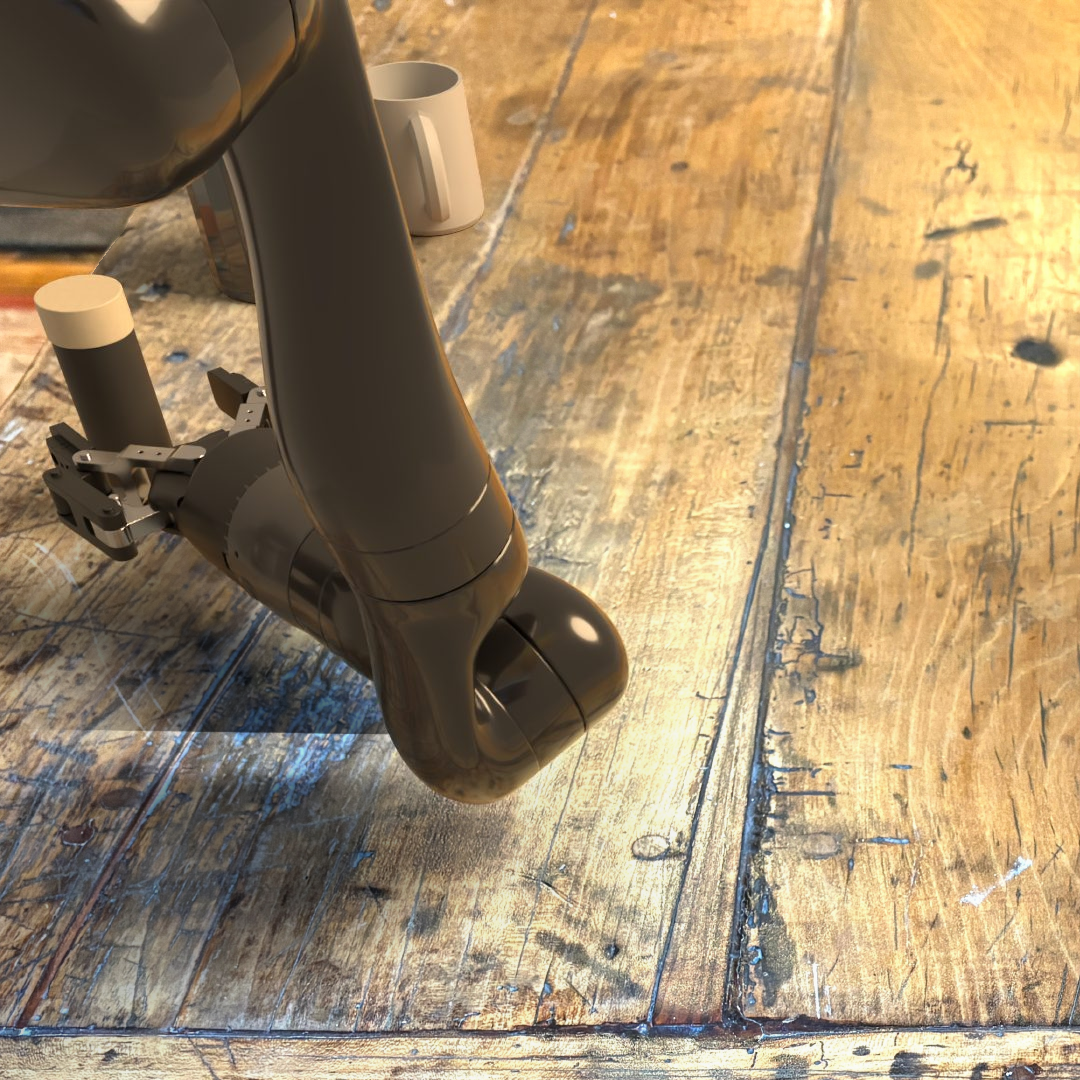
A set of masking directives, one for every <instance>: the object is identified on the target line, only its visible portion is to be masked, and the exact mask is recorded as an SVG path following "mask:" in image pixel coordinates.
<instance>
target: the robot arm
mask: <svg viewBox="0 0 1080 1080" xmlns="http://www.w3.org/2000/svg"><path fill="white" fill-rule="evenodd" d="M361 48H362V47H361V45H360V41H359V37H358V33H357V28H356V25H355V21H354V17H353V13H352V9H351V6H350V2H349V0H0V206H2V207H17V208H37V209H53V210H54V209H55V210H92V211H93V210H95V211H97V210H100V211H102V210H103V211H104V210H106V211H107V210H119V209H121V210H123V209H128V208H136V207H142V206H147V205H150V204H155V203H157V202H160V201H162V200H164V199H168V198H169V197H171V196H173V195H175V194H176V193H179V192H180V191H182V190H183V189H185V188H186V187H187V186H188V185H190V184H192V183H193V182H194V181H196V180H197V179H199V178H200V177H201V176H203V175H204V174H205V173H206V172H207V171H209V170H210V169H211V168H212V167H213V166H214V165H215V164H216V163H217V162H218V160H219V159H220V158H221V157H222V158H223V161H224V163H225V166H226V169H227V172H228V174H229V177H230V181H231V184H232V187H233V191H234V194H235V197H236V201H237V205H238V209H239V213H240V218H241V222H242V227H243V231H244V236H245V240H246V244H247V249H248V255H249V262H250V268H251V274H252V281H253V287H254V294H255V302H256V303H255V311H256V318H257V327H258V336H259V337H258V338H259V348H260V356H261V365H262V366H261V367H262V374H263V382H264V383H263V384H264V385H261V386H260V385H258V384H256V383H255V382H254V381H252V380H250V379H249V378H247V377H246V376H245V375H244V374H242V373H238V372H229V371H228V370H226V369H225V368H223V367H222V366H219V367H215V368H213V369H209V370H208V371H206V376H207V380H208V383H209V386H210V389H211V393H212V396H213V399H214V401H215V404H216V406H217V407H218V409H219V410H220V411H222V412H223V413H224V414H226V415H227V416H228V417H229V418H231V419H233V420H234V424H233V425H231V426H230V429H228V430H225V429H223V428H220V429H218V430H215V431H213V432H209V433H207V434H205V435H203V436H202V437H200V438H198V439H197V440H193V441H190V442H186V443H180V444H177V445H175V446H174V445H173V447H172V448H163V447H153V446H142V445H127V446H126V447H125V448H124V449H123V450H122V451H121V452H109V451H99V450H96V448H95V446H94V445H93V444H91V443H90V442H89V441H88V440H87V438H85V437H84V436H83V435H81V434H80V433H79V432H78V431H77V430H75V429H74V428H73V427H71V426H70V425H69V424H67V423H66V422H65V421H61V422H58V423H55V424H53V425H50V426H49V432H50V435H51V436H48V437H45V443H46V446H47V449H48V451H49V454H50V457H51V459H52V461H53V465H54V467H51V468H49V469H47V470H45V471H44V472H42V474H41V475H42V479H43V483H44V484H45V486H46V487H47V489H48V491H49V494H50V496H51V499H52V501H53V504H54V506H55V510H56V514H57V516H58V520H59V522H60V523H61V524H63V526H66V527H67V528H68V529H69V530H71V531H73V532H74V533H76V535H78V536H79V537H81V538H82V539H84V540H85V541H87V542H88V543H89V544H91V545H92V546H94V547H95V548H96V549H98V550H99V551H101V552H102V553H103V554H105V555H106V556H107V557H109V558H110V559H112V560H114V561H115V562H121V563H123V562H128V561H132V560H133V559H135V558H136V557H137V556H139V549H138V548H137V544H136V542H135V541H137V540H140V539H142V538H144V537H147V536H149V535H152V534H153V533H156V532H157V531H160V530H161V531H162V532H164V533H166V534H169V535H173V536H179V537H182V538H185V539H186V540H188V542H189V543H191V544H192V546H193V547H194V549H196V550H197V551H198V552H199V553H200V554H201V555H202V556H203V557H204V558H205V560H207V561H208V562H209V563H210V564H212V565H213V566H214V567H215V568H217V569H218V570H219V571H220V572H222V573H223V574H224V575H226V576H227V577H228V578H229V579H230V580H232V581H233V582H234V583H235V584H236V585H238V586H239V587H241V588H242V589H243V590H244V591H245V592H246V593H247V594H248V596H249V597H250V598H251V599H252V600H255V601H256V602H259V603H260V604H262V606H264V607H265V608H266V609H268V610H269V611H270V612H272V613H273V614H274V615H276V616H277V617H278V618H280V619H281V620H282V621H284V622H285V623H286V624H288V625H291V626H292V627H294V628H296V629H298V630H300V631H302V632H304V633H305V634H308V635H309V636H310V637H311V638H313V639H314V640H315V641H316V642H318V643H319V644H320V645H321V646H323V647H324V648H325V649H326V650H327V651H329V652H330V653H331V654H333V655H334V656H335V657H337V658H338V659H339V660H341V661H342V662H343V663H344V664H345V665H346V666H348V667H349V668H350V669H352V670H353V671H354V672H356V673H357V674H358V675H360V676H362V677H363V678H365V679H367V680H369V681H370V682H371V683H373V686H374V689H375V696H376V699H377V702H378V706H379V710H380V714H381V717H382V720H383V723H384V726H385V728H386V731H387V734H388V735H389V736H388V737H389V738H390V740H391V742H392V744H393V746H394V748H395V749H396V751H397V752H398V755H399V756H400V758H401V759H402V761H403V762H404V763H405V765H406V766H407V767H408V769H409V771H411V772H412V774H413V775H414V776H415V777H416V778H417V779H418V780H420V782H421V783H423V784H424V785H425V786H426V787H427V788H429V789H430V790H432V792H435V793H436V794H437V795H440V796H441V797H444V798H445V799H448V800H450V801H453V802H457V803H461V804H466V805H473V806H474V805H475V806H477V805H478V806H480V805H490V804H494V803H496V802H499V801H501V800H503V799H505V798H507V797H509V796H511V795H512V794H514V793H515V792H516V791H518V790H519V789H520V788H522V787H523V786H524V785H526V784H527V783H528V782H529V781H530V780H531V779H533V778H534V777H535V776H536V775H538V773H539V772H541V771H542V770H543V769H545V768H546V767H547V766H548V765H549V764H551V763H552V762H553V761H554V760H556V759H557V758H558V757H559V756H560V755H561V754H562V753H564V752H565V751H566V750H567V749H568V748H570V747H571V746H572V745H573V744H574V743H576V742H578V740H580V738H582V737H583V736H584V735H585V734H587V733H588V732H589V731H591V730H592V729H593V728H594V727H596V726H597V725H598V724H600V723H601V722H602V721H603V720H604V719H605V718H607V717H608V715H610V714H611V713H612V712H613V711H614V710H615V709H616V707H618V705H619V704H620V703H621V701H622V699H623V697H624V695H625V694H626V691H627V688H628V685H629V684H628V683H629V679H630V662H629V661H630V660H629V656H628V652H627V648H626V644H625V642H624V639H623V637H622V635H621V633H620V632H619V629H618V628H617V626H616V625H615V623H614V622H613V620H612V619H611V618H610V616H609V615H608V614H607V613H606V611H605V610H604V609H603V608H602V607H601V606H600V605H599V604H598V603H596V601H594V600H593V599H592V598H591V597H590V596H589V595H587V594H586V593H585V592H583V591H582V590H581V589H580V588H578V587H576V586H574V585H573V584H571V583H569V582H568V581H566V580H565V579H563V578H561V577H559V576H557V575H555V574H553V573H551V572H548V571H546V570H543V569H540V568H538V567H536V566H532V565H530V554H529V546H528V542H527V539H526V535H525V532H524V529H523V527H522V525H521V522H520V520H519V517H518V515H517V513H516V511H515V508H514V506H513V504H512V502H511V500H510V498H509V496H508V494H507V493H508V492H507V491H506V489H505V486H504V485H503V482H502V480H501V478H500V476H499V474H498V472H497V469H496V467H495V465H494V462H493V461H492V459H491V457H490V455H489V452H488V449H487V447H486V446H485V444H484V441H483V439H482V437H481V434H480V433H479V430H478V428H477V426H476V424H475V422H474V420H473V417H472V415H471V414H470V411H469V408H468V406H467V405H466V402H465V400H464V397H463V395H462V393H461V390H460V388H459V385H458V383H457V381H456V378H455V376H454V373H453V371H452V368H451V365H450V363H449V359H448V357H447V354H446V351H445V348H444V346H443V343H442V339H441V337H440V333H439V331H438V328H437V324H436V321H435V319H434V315H433V312H432V309H431V306H430V302H429V299H428V296H427V293H426V292H427V291H426V289H425V286H424V282H423V279H422V278H423V277H422V275H421V271H420V268H419V264H418V259H417V256H416V253H415V249H414V245H413V241H412V237H411V235H410V233H409V230H408V226H407V222H406V219H405V215H404V211H403V207H402V203H401V199H400V195H399V191H398V188H397V184H396V180H395V176H394V173H393V169H392V165H391V161H390V158H389V154H388V150H387V147H386V143H385V140H384V136H383V133H382V129H381V126H380V122H379V119H378V115H377V111H376V108H375V104H374V100H373V96H372V92H371V88H370V84H369V80H368V76H367V72H366V69H367V68H366V64H365V60H364V56H363V53H362V49H361ZM145 468H146V469H156V470H155V473H154V477H153V480H152V483H151V484H150V481H149V478H148V475H147V472H146V469H145ZM106 473H113V474H115V475H117V476H118V477H119V479H120V481H121V484H122V487H115V486H111V484H110V482H109V479H108V476H107V474H106Z"/></svg>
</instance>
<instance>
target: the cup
mask: <svg viewBox="0 0 1080 1080" xmlns="http://www.w3.org/2000/svg"><path fill="white" fill-rule="evenodd" d="M366 72H367V76H368V80H369V84H370V88H371V92H372V96H373V100H374V104H375V108H376V111H377V115H378V119H379V122H380V126H381V129H382V133H383V136H384V140H385V143H386V147H387V150H388V154H389V158H390V161H391V165H392V169H393V173H394V176H395V180H396V184H397V188H398V191H399V195H400V199H401V203H402V207H403V211H404V215H405V219H406V222H407V226H408V230H409V233H410V236H417V237H418V236H419V237H420V236H421V237H431V236H433V237H434V236H443V235H449V234H454V233H457V232H460V231H463V230H466V229H468V228H470V227H472V226H474V225H476V223H477V222H479V221H480V220H481V218H482V215H483V213H484V211H485V208H486V207H485V200H484V199H485V198H484V192H483V187H482V181H481V175H480V169H479V163H478V157H477V153H476V147H475V142H474V141H475V140H474V135H473V130H472V125H471V119H470V113H469V108H468V102H467V97H466V91H465V86H464V80H463V74H462V73H461V72H460V71H459V70H458V69H456V68H454V67H452V66H450V65H447V64H444V63H440V62H434V61H427V60H424V61H423V60H405V61H404V60H403V61H394V62H388V63H382V64H379V65H375V66H371V67H369V68H366Z"/></svg>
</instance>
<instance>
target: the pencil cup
mask: <svg viewBox="0 0 1080 1080" xmlns="http://www.w3.org/2000/svg"><path fill="white" fill-rule="evenodd" d="M185 188H186V191H187V194H188V198H189V201H190V205H191V208H192V212H193V214H194V218H195V221H196V225H197V228H198V231H199V235H200V238H201V242H202V246H203V249H204V252H205V255H206V259H207V262H208V266H209V269H210V272H211V276H212V277H213V280H214V283H215V285H216V287H217V288H218V290H220V292H222V293H223V294H224V295H226V296H228V297H230V298H233V299H234V300H238V301H242V302H245V303H251V304H256V302H255V294H254V287H253V281H252V274H251V268H250V262H249V255H248V249H247V244H246V240H245V236H244V231H243V227H242V222H241V218H240V213H239V209H238V205H237V201H236V197H235V194H234V191H233V187H232V184H231V181H230V177H229V174H228V172H227V169H226V166H225V163H224V161H223V158H222V157H221V158H220V159H219V160H218V162H217V163H216V164H215V165H214V166H213V167H212V168H211V169H210V170H209V171H207V172H206V173H205V174H204V175H203V176H201V177H200V178H199V179H197V180H196V181H194V182H193V183H192V184H190V185H188V186H187V187H185Z"/></svg>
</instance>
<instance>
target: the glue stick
mask: <svg viewBox="0 0 1080 1080" xmlns="http://www.w3.org/2000/svg"><path fill="white" fill-rule="evenodd" d="M33 302H34V306H35V308H36V311H37V314H38V317H39V318H40V323H41V325H42V327H43V330H44V333H45V336H46V338H47V339H48V341H49V342H50V343H51V345H52V349H53V351H54V353H55V357H56V360H57V362H58V364H59V367H60V370H61V373H62V375H63V378H64V381H65V383H66V387H67V389H68V392H69V394H70V397H71V399H72V402H73V405H74V407H75V410H76V413H77V415H78V418H79V421H80V424H81V426H82V429H83V432H84V434H85V437H86V440H88V441H89V442H90V443H91V444H93V445H94V446H95V448H96V450H99V451H109V452H121V451H122V450H123V449H124V448H125V447H126V446H127V445H142V446H153V447H163V448H172V447H174V445H173V441H172V438H171V436H170V432H169V429H168V426H167V424H166V420H165V417H164V414H163V411H162V408H161V405H160V403H159V399H158V397H157V396H158V395H157V393H156V389H155V387H154V385H153V382H152V378H151V375H150V372H149V370H148V366H147V363H146V361H145V358H144V354H143V352H142V349H141V345H140V342H139V340H138V337H137V334H136V331H135V322H134V318H133V315H132V311H131V309H130V306H129V303H128V300H127V297H126V294H125V292H124V288H123V286H122V284H121V283H120V281H118V279H116V278H113V277H112V276H111V277H110V276H107V275H101V274H77V275H70V276H65V277H61V278H58V279H55V280H53V281H50V282H48V283H46V284H44V285H43V286H41V287H40V288H38V289H37V291H35V293H34V295H33ZM145 469H146V468H145ZM155 470H156V469H146V472H147V475H148V478H149V481H150V484H151V483H152V480H153V477H154V473H155ZM106 474H107V476H108V479H109V482H110V484H111V486H115V487H122V484H121V481H120V479H119V477H118V476H117V475H115V474H113V473H106Z"/></svg>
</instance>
